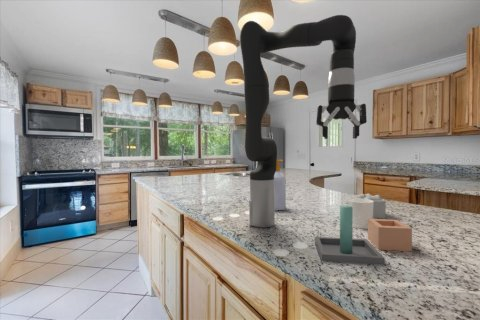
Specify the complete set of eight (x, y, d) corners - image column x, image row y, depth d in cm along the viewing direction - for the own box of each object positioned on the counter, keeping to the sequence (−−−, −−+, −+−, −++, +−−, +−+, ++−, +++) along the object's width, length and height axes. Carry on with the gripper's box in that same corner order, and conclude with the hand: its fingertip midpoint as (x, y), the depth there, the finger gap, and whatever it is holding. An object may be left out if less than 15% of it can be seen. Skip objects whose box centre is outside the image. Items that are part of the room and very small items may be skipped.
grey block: (362, 218, 95) (363, 197, 95) (349, 210, 108) (349, 192, 108) (389, 218, 95) (389, 197, 94) (372, 210, 108) (372, 192, 107)
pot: (378, 252, 63) (378, 227, 63) (367, 241, 71) (367, 218, 71) (411, 254, 62) (411, 228, 61) (396, 243, 70) (397, 219, 69)
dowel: (341, 253, 60) (341, 207, 60) (338, 249, 63) (338, 205, 63) (353, 254, 60) (354, 208, 60) (350, 249, 63) (350, 205, 62)
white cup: (377, 232, 79) (377, 203, 78) (351, 231, 80) (351, 202, 80) (369, 225, 86) (369, 198, 86) (346, 224, 88) (346, 197, 88)
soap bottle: (275, 212, 107) (275, 160, 106) (264, 207, 116) (263, 159, 115) (290, 209, 111) (290, 159, 110) (278, 205, 119) (278, 159, 119)
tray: (321, 264, 57) (321, 254, 57) (315, 245, 69) (315, 236, 69) (384, 268, 55) (384, 258, 55) (366, 247, 66) (366, 239, 66)
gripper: (318, 84, 70) (318, 138, 71) (370, 81, 68) (369, 137, 68) (315, 90, 78) (315, 139, 78) (362, 88, 75) (361, 138, 76)
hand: (340, 138), depth 73 cm, fingers open, 8 cm apart
